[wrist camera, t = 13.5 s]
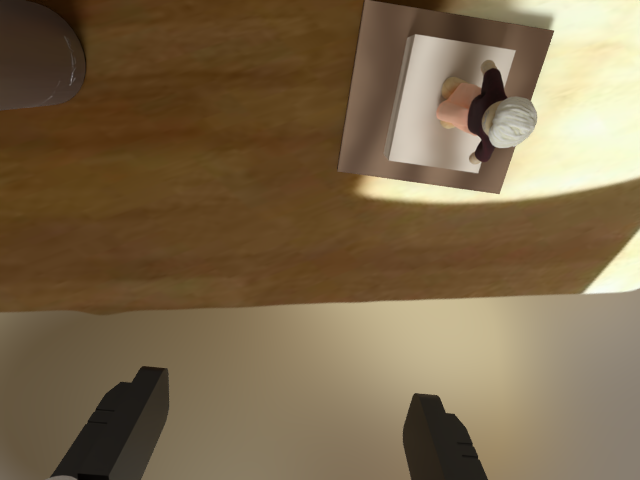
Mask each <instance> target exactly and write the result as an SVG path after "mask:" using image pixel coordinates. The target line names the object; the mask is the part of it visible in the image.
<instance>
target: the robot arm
mask: <svg viewBox="0 0 640 480" xmlns="http://www.w3.org/2000/svg"><path fill="white" fill-rule="evenodd" d="M84 77H85V58H84V52H83V49H82V47H81V44H80V41H79V40H78V38H77V36H76V34H75V33H74V31H73V30H72V28H71V27H70V26H69V25H68V23H67V22H66V21H65V20H64V19H63V18H61V17H60V16H59V15H58V14H57V13H56V12H54V11H52V10H51V9H49V8H47V7H45V6H43V5H40V4H37V3H34V2H30V1H26V0H0V110H8V109H17V108H28V107H37V106H46V105H55V104H60V103H63V102H66V101H68V100H69V99H71V98H72V97H74V96H75V95H76V93H77V92H78V91H79V90H80V88H81V86H82V84H83V81H84ZM168 410H169V380H168V369H167V368H157V367H146V366H143V367H141V368H140V370H139V371H138V373H137V374H136V377H135V378H134V379H133V381H132V383H127V382H120V383H119V384H118V385H116V386H115V387H114V388H113V389H111V390H110V391H109V392H108V393H106V394H105V396H104V397H103V399H102V400H101V402H100V403H99V405H98V406H97V408H96V411H95V412H94V413H93V414H92V415H91V417H90V418H89V420H88V423H87V424H86V425H85V426H84V427H83V429H82V431H81V432H80V434H79V435H78V437H77V438H76V440H75V441H74V443H73V444H72V446H71V447H70V449H69V450H68V452H67V453H66V455H65V456H64V458H63V459H62V461H61V462H60V464H59V465H58V467H57V468H56V470H55V471H54V473H53V474H52V475H51V477H50V478H48V479H45V480H141V478H142V476H143V474H144V471H145V469H146V467H147V464H148V462H149V460H150V457H151V455H152V453H153V450H154V448H155V446H156V443H157V441H158V439H159V437H160V434H161V432H162V430H163V427H164V425H165V422H166V419H167V415H168ZM472 444H473V443H472V441H471V439H470V436H469V434H468V431H467V429H466V427H465V426H464V425H463V424H462V423H461V422H460V420H459V419H458V418H457V417H456V416H455V414H449V413H445V410H444V407H443V405H442V402H441V400H440V398H439V396H437V395H428V394H418V393H415V394H414V395H413V397H412V401H411V404H410V407H409V410H408V414H407V417H406V421H405V424H404V428H403V445H404V449H405V454H406V458H407V462H408V467H409V471H410V476H411V480H488V479H487V476H486V474H485V472H484V469H483V467H482V464H481V462H480V460H478V455H477V453H476V450H475V448H474V447H473V445H472Z"/></svg>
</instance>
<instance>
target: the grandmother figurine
mask: <svg viewBox="0 0 640 480" xmlns="http://www.w3.org/2000/svg"><path fill="white" fill-rule="evenodd" d="M481 72H482V73H483V83H482V88H480V87H478V86H477V85H474V84H469V83H468V82H466V81H464V80H461V79H459V78H457V77H450V78H448V79H446V80H445V82H444V83H443V86H442V89H441V92H442V96H443V97H444V98H445V99H447V100H445V101H443V102H442V103H440V105H439V106H438V108H437V111H436V116H437V119H439V120H440V123H441V125H442V126H443V127H444V128H446V129H450V128H454V127H456V128H458V129H460V130H462V131H464V132H466V133H469V134H472V135H474V136H479V137H480V139H481V142H480V143H479V144H478V146H477V148H476V151H475V152H473V153H472V154H471V155H470V156H469V161H470V163H472V164H479V163H480V162H487V161H488V160H489V159H490V157H491V155H492V153H493V151H494V149H495V147H497V148H509V147H512V146H513V147H515V146H516V145H517V144H519V143H521V142H523V141H524V140H525V139H526V138H527V137H529V135H530V134H531V133H532V132H533V130H534V128H535V125H536V122H537V113H536V110H535V108H534V106H533V104H532V102H531V101H530V100H529V99H526V98H522V97H509V98H507V96H506V94H505V91H504V85H503V81H502V77H501V73H500V71H499V70H498V69H497V67H496V66H495V63H494V62H493V61H492V60H486V61H484V62H483V63H482V65H481Z"/></svg>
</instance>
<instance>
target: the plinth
mask: <svg viewBox="0 0 640 480" xmlns="http://www.w3.org/2000/svg"><path fill="white" fill-rule="evenodd" d="M553 33H554V31H553V30H547V29H541V28H535V27H529V26H523V25H517V24H511V23H505V22H499V21H492V20H486V19H480V18H474V17H468V16H462V15H456V14H450V13H444V12H438V11H432V10H426V9H420V8H414V7H408V6H402V5H396V4H390V3H384V2H377V1H371V0H365V1H364V4H363V11H362V17H361V23H360V29H359V36H358V42H357V48H356V54H355V61H354V67H353V73H352V79H351V86H350V92H349V98H348V104H347V111H346V117H345V123H344V129H343V136H342V142H341V148H340V154H339V161H338V167H337V171H339V172H347V173H354V174H361V175H368V176H375V177H382V178H389V179H396V180H403V181H410V182H417V183H425V184H432V185H439V186H446V187H453V188H460V189H467V190H474V191H481V192H488V193H495V194H500V191H501V188H502V185H503V182H504V179H505V176H506V173H507V170H508V167H509V164H510V161H511V158H512V155H513V152H514V149H515V147H513V146H512V147H509V148H497V147H495V149H494V151H493V153H492V155H491V157H490V159H489V160H488V161H487V162H480V163H479V164H472V163H470V161H469V156H470V155H471V154H472V153H473V152H475V151H476V148H477V146H478V144H479V143H480V142H481V139H480V137H479V136H474V135H472V134H469V133H466V132H464V131H462V130H460V129H458V128H456V127H454V128H450V129H446V128H444V127H443V126H442V125H441V123H440V120H439V119H437V116H436V111H437V108H438V106H439V105H440V103H442V102H443V101H445V100H447V99H445V98H444V97H443V96H442V92H441V89H442V86H443V83H444V82H445V80H446V79H448V78H450V77H457V78H459V79H461V80H464V81H466V82H468V83H469V84H474V85H477V86H478V87H480V88H482V83H483V73H482V72H481V65H482V63H483V62H484V61H486V60H492V61H493V62H494V63H495V66H496V67H497V69H498V70H499V71H500V73H501V77H502V81H503V85H504V91H505V94H506V96H507V98H509V97H522V98H526V99H529V100H530V101H531V98H532V95H533V92H534V89H535V86H536V83H537V80H538V77H539V74H540V72H541V69H542V66H543V63H544V60H545V57H546V54H547V51H548V48H549V45H550V42H551V39H552V36H553Z"/></svg>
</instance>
